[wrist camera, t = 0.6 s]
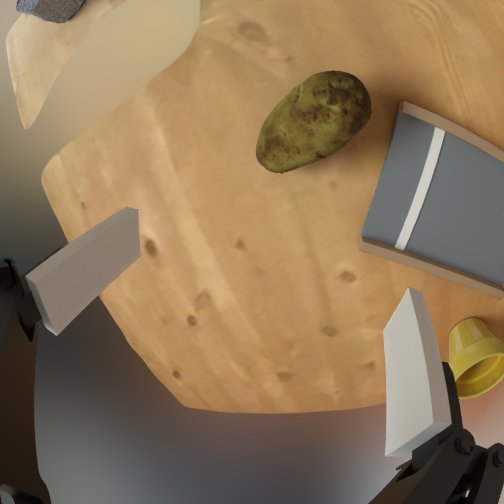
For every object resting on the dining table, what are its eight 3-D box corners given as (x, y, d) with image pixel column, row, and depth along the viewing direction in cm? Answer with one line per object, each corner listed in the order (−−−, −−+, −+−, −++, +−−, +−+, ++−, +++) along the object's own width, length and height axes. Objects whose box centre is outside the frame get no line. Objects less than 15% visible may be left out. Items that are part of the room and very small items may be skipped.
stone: (58, 8, 26) (75, -33, 19) (82, 24, 29) (102, -19, 22) (8, 27, 19) (20, -20, 12) (29, 45, 22) (43, -6, 15)
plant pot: (488, 343, 33) (504, 386, 24) (438, 361, 37) (447, 407, 29) (494, 299, 29) (517, 343, 21) (437, 319, 34) (452, 368, 26)
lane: (399, 102, 23) (407, 100, 20) (547, 187, 19) (561, 195, 16) (358, 241, 32) (359, 255, 29) (501, 291, 28) (510, 306, 25)
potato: (243, 108, 29) (215, 108, 22) (350, 70, 24) (356, 55, 17) (271, 173, 32) (252, 192, 25) (378, 140, 26) (392, 149, 20)
